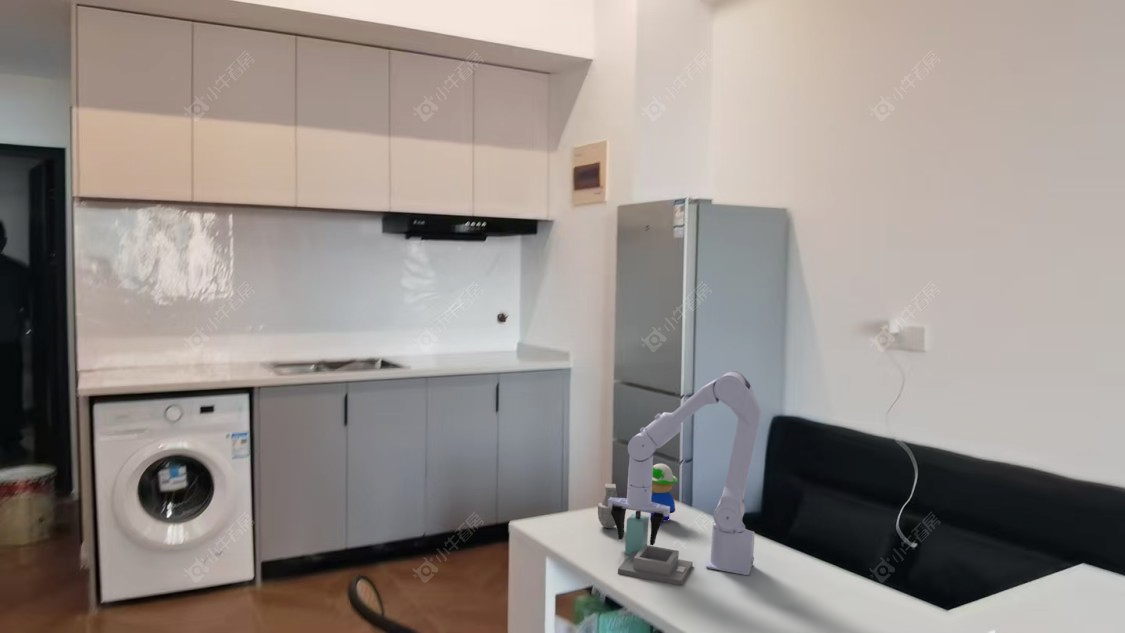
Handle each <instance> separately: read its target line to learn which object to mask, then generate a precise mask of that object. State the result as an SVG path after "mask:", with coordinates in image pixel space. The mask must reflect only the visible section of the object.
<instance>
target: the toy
mask: <svg viewBox="0 0 1125 633" xmlns="http://www.w3.org/2000/svg"><path fill="white" fill-rule="evenodd" d="M677 482H678V478H677V477H676V476H675V475H674V473H673V470H672V469H671V468H670V466H668V464H665V463H656V464H654V465H653V477H652V492H653V493H652V495H651V502H654V503H657V504H661V505H665V506H670V514H674V513H675V512H676V504H675V499H674V497H673V495H672V493H671V492H670V491H671V490H672V488H673V485H674V484H675V483H677ZM670 514H669V516H668V517H666V516H665V517H664V519H663V520H668V519H669V520H670ZM652 515H654V514H653V513H650V516H649V520H650V521H651V516H652ZM669 520H668V521H669Z"/></svg>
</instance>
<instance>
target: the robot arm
mask: <svg viewBox="0 0 1125 633" xmlns="http://www.w3.org/2000/svg"><path fill="white" fill-rule="evenodd" d="M719 402H722V403H723V404H725V405H726V406H728V407H729V408H730V409H731V411H732V412H733V414H735V416H736V417H737V418H738V420H737V425H736V429H735V434H734V440H733V445H732V450H731V454H730V459H729V464H728V467H727V468H728V469H727V473H726V477H725V483H724V487H723V490H722V494H721V497H720V498H719V500H718V502H717V506H716V508H715V509H714V511H713V515H712V516H713V522H712V529H711V530H712V531H711V532H712V533H711V545H710V546H711V548H710V558H709V559H708V561H707V563H706V565H705V567H706V568H707V569H711V570H712V569H713V570H718V571H723V572H727V573H732V574H733V573H734V574H737V575H743V576H750V573H751V570H752V567H753V566H754V561H755V558H754V550H755V531H753V530H749V529H747V528H746V525H745V524H744V522H743V517H744V516H745V513H746V509H747V508H746V503H745V500H744V499H745V498H744V496H745V494H746V486H747V481H748V476H749V472H750V468H751V462H752V457H753V452H754V448H755V444H756V438H757V435H758V428H759V425H760V420H761V414H762V412H761V408H760V406H759V402H758V401H757V398H756V396H755V393H754V391H753V388H752V384H751V382H750V381H749V380H748V379H747V378H746V377H745V376H744V374H743V373H740V372H739V371H735V370H729V371H725V373H723V374H722V375H721V376H720V377H718V378H715V379H713V380H711V381H710V382H709V383H707V384H706V385H703V386H702V387H700V388H699V390H698V391H696V392H695V393H694V394H693V395H691V397H689V398H688V399H687V400H686V401H685V402H684V403H682V404H681V405H680V406H679V407H678V408H676V409H675V410H674V411H673V412H666V411H664V412H663V413H660V412H659V413H657V414H656V415H654V420H653V421H652V422H650V423H649V424H648V425H646V426H645V427H644V426H642V427H640V429H639V433H637V434H635V436H634V435H633V436H632V437H631V439H630V440H629V441H628V444H627V453H628V454H629V458H628V459H629V464H628V471H627V472H628V473H627V474H628V475H627V491H626V498H625V497H618V498H616V497H615V498H613V497H610V498H609V499H608V507H611V508H612V510H611V515H612V517H613V519H614V521H615V524H616V525H615V528H616V531H617V536H618V540H620V541H622V540H623V538H624V537H625V519H626V513H627V512H626V511H627V510H630V511H635V512H636V511H640V512H641V513H642V512H643V513H648V514H651V513H653V514H654V515H652V516H651V520H650V537H649V538H650V539H649V546H655V543H656V540H657V539H656V538H657V535H658V532H659V530H660V527H661V525H662V523H663V522H664V521H663V519H664V517H665V516H666V517H668V516H669V514H671V513H670V506H665V505H661V504H657V503H654V502H651V496H652V494H653V493H652V492H653V491H652V477H653V466H654V465H653V464H654V455H653V454H654V453H655V452H656V450H657V449H661V447H663V446H664V445H666V444H667V443H668V442H669V441H670V440H671V439H673V438H674V437H675V436H676V435H677V434H679V433H680V432H681V425H682V423H683V422H685V421H686V420H687V419H689V418H690V417H692V416H693V415H694V414H695V413H696V412H698V411H699V410H701V409H702V408H704V407H705V406H706V405H710V404H711V405H712V404H713V405H714V404H718V403H719ZM669 517H670V516H669ZM662 521H663V522H662Z"/></svg>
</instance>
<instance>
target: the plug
mask: <svg viewBox="0 0 1125 633" xmlns="http://www.w3.org/2000/svg"><path fill="white" fill-rule="evenodd" d="M641 513H642V512H641V511H635V513H631V515H630V516H629V517H628V518H627V519H626V531H625V546H624V553H625V554H628V555H630V554H631V553H632V551H636V552H639V551H640V550H641V548H642V547H643V546H644V545H648V539H649V538H648V537H649V522H650V521H649V520H650V516H648V515H644V514H641Z"/></svg>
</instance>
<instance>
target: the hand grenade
mask: <svg viewBox="0 0 1125 633" xmlns="http://www.w3.org/2000/svg"><path fill="white" fill-rule="evenodd" d="M604 488H605V495H604V497H603V499H602V501H601V502H598V504H597V516H598V521H599V523H600V525H601V526H602V527H604V528H606V529H612V528H614V527H615V528H616V524H615V521H614V519H613V517H612V515H611V510H612V508H611V507H608V499H609V498H610V497H613V498H619V497H618V493H617V485H616V483H605V484H604Z"/></svg>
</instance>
